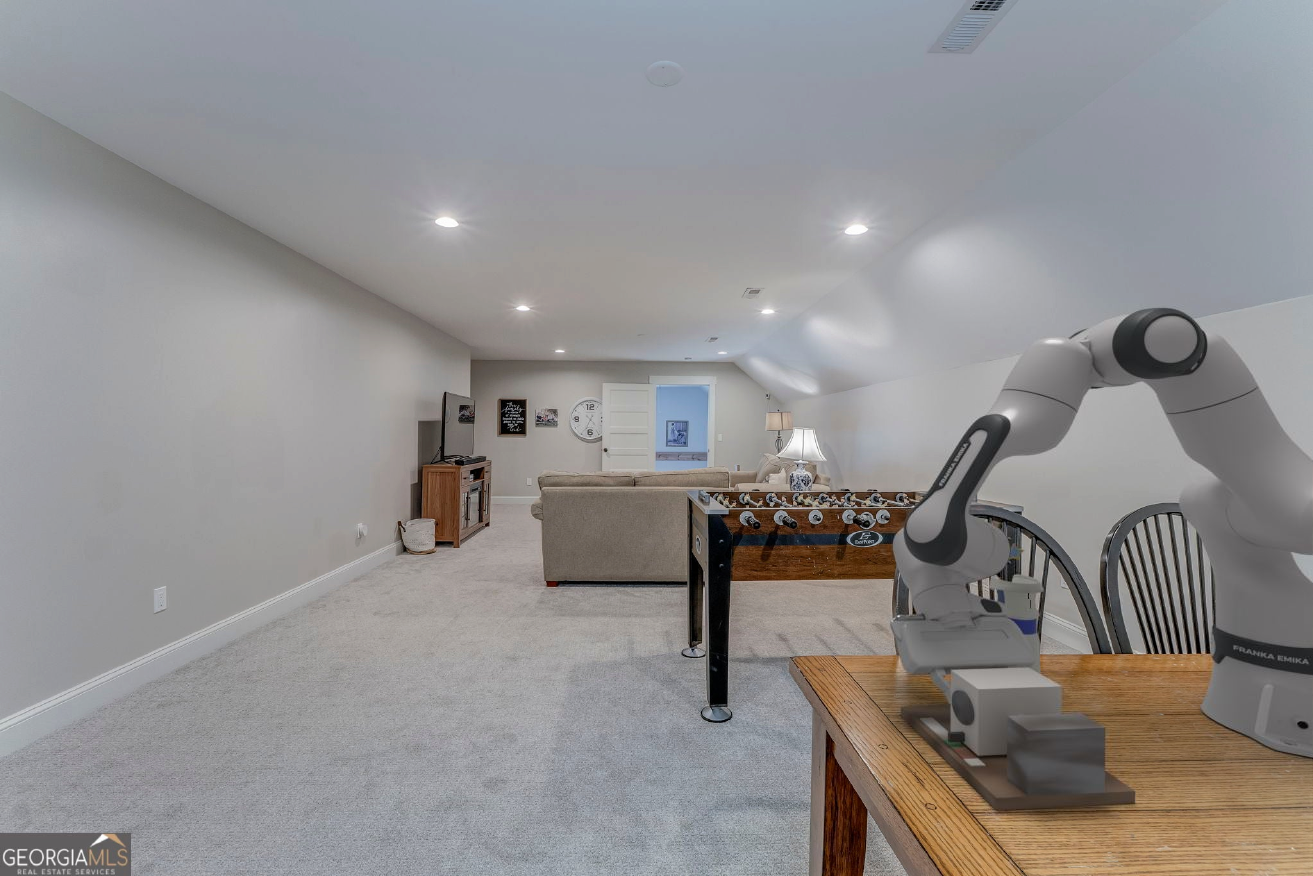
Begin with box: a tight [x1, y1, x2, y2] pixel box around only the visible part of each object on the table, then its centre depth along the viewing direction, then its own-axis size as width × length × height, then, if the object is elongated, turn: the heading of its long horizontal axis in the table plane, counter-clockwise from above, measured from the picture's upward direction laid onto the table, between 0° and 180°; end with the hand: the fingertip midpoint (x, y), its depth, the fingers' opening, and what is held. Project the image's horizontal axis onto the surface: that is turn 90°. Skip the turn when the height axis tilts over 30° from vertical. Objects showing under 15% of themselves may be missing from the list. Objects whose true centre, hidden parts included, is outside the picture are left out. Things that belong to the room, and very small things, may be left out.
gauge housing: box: [948, 667, 1063, 756], centre depth 75 cm, size 8×14×9 cm, turn 94°
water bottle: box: [988, 543, 1045, 675], centre depth 99 cm, size 8×9×25 cm
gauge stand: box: [900, 704, 1136, 811], centre depth 77 cm, size 22×18×10 cm
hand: (986, 701), depth 80 cm, fingers open, 8 cm apart
